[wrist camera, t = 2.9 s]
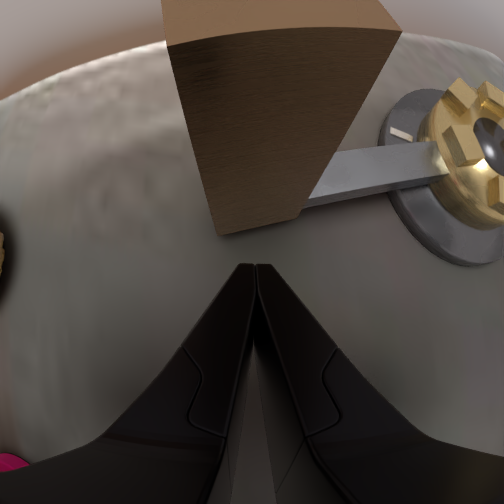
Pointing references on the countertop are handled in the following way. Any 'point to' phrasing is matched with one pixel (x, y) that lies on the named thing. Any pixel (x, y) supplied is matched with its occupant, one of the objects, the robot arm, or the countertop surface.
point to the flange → (425, 201)
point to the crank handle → (317, 113)
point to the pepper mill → (10, 462)
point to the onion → (1, 251)
